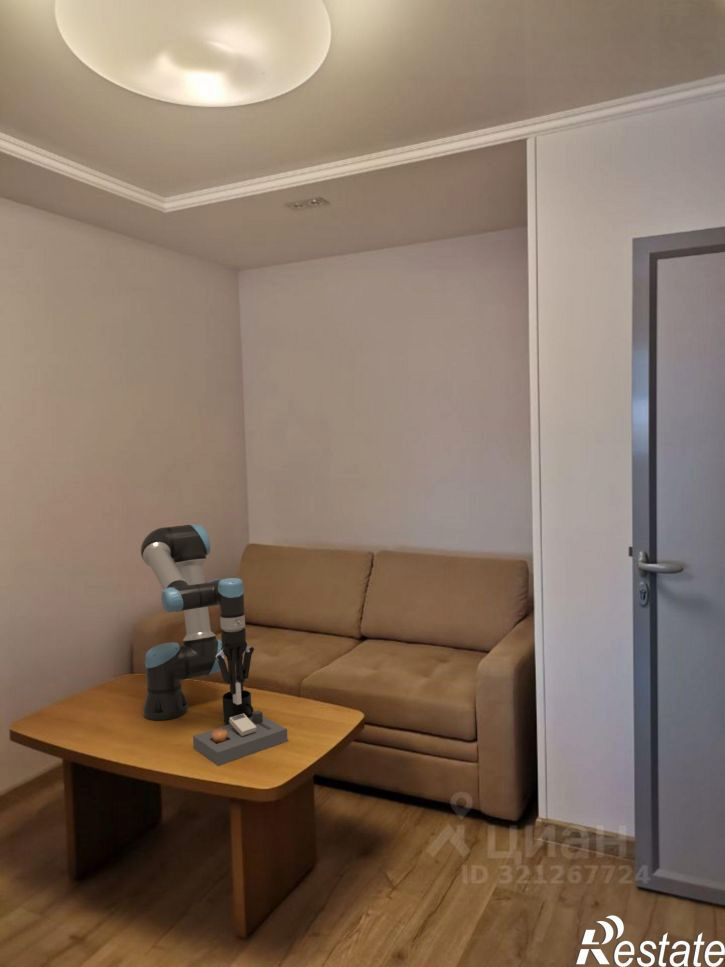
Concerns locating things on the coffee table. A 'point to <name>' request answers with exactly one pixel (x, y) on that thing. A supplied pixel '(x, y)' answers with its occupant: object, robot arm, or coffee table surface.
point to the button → (219, 735)
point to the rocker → (242, 724)
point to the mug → (236, 706)
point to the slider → (257, 716)
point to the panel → (240, 741)
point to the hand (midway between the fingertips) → (237, 702)
